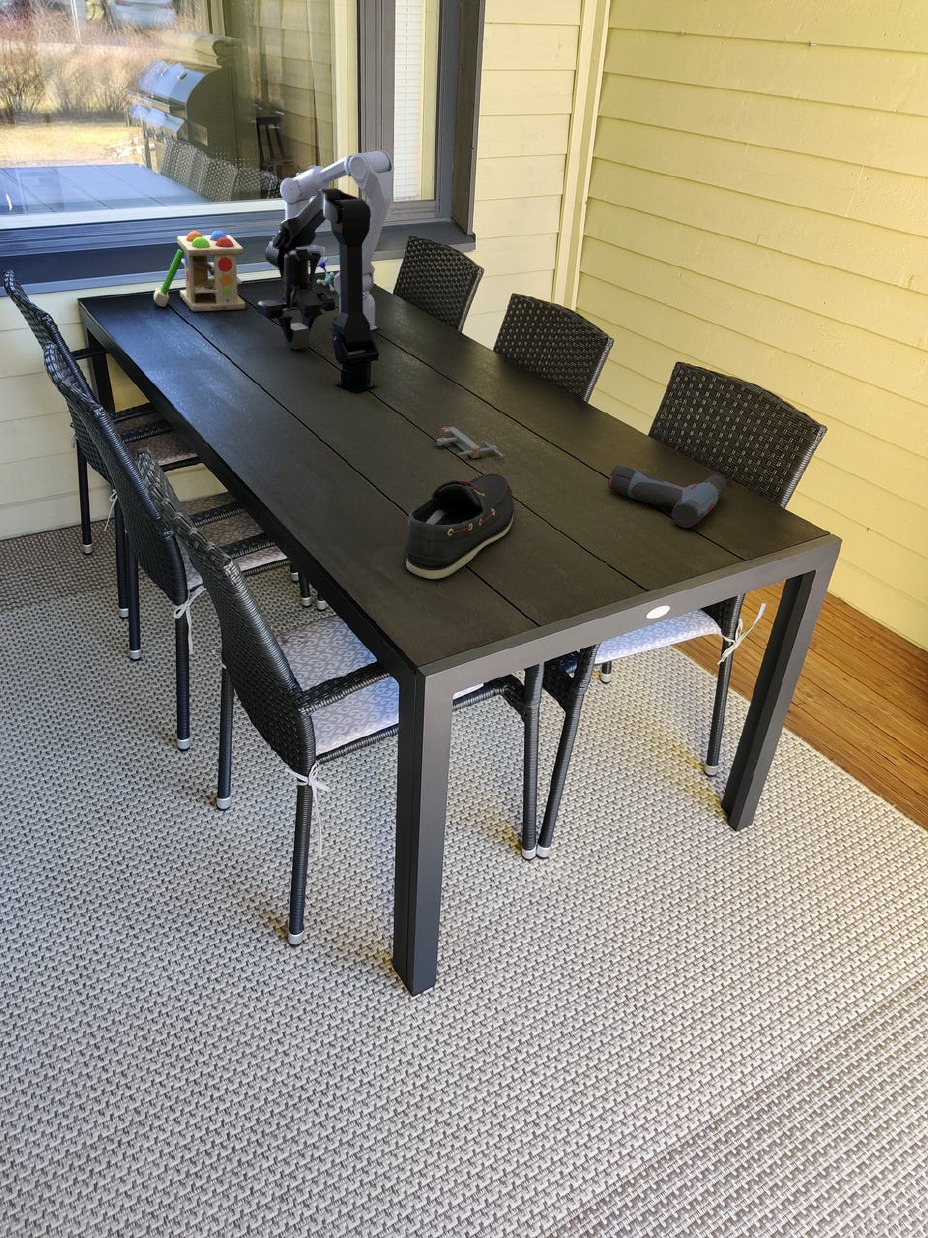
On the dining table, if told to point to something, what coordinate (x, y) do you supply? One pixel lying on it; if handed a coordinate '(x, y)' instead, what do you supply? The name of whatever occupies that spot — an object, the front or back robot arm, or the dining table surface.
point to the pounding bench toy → (206, 273)
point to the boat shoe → (457, 524)
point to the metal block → (298, 336)
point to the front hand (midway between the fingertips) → (297, 340)
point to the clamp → (464, 443)
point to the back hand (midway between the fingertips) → (297, 280)
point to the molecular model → (328, 276)
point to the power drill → (669, 493)
